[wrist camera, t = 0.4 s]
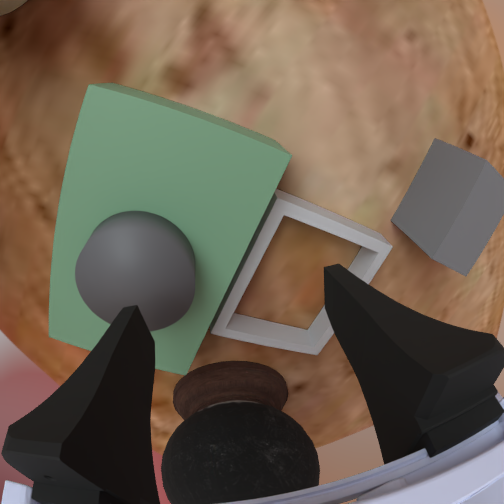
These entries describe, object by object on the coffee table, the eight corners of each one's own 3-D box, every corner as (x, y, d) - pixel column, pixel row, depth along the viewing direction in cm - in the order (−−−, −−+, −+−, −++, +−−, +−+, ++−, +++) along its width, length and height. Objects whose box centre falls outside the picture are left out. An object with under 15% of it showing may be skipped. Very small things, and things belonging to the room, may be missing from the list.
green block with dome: (398, 201, 21) (447, 241, 16) (295, 358, 28) (312, 413, 23) (112, 82, 15) (72, 85, 10) (65, 300, 21) (40, 357, 16)
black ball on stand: (283, 423, 34) (311, 538, 21) (169, 427, 32) (172, 549, 19) (309, 349, 27) (364, 505, 15) (156, 352, 25) (149, 529, 12)
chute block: (466, 165, 20) (515, 191, 16) (425, 239, 23) (466, 276, 19) (433, 137, 19) (486, 160, 14) (389, 219, 22) (431, 258, 17)
